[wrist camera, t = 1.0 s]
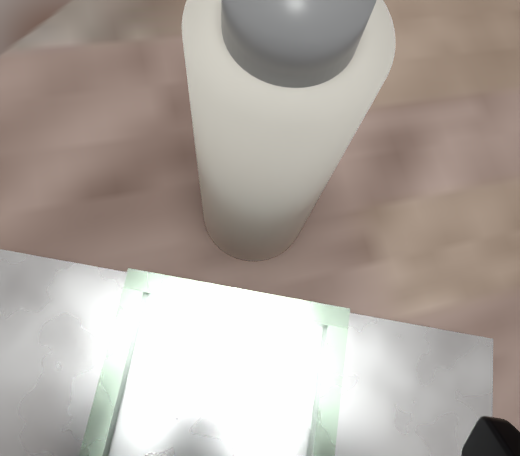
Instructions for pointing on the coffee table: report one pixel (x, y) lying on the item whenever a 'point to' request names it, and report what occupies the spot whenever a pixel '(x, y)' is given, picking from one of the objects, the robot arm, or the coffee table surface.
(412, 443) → the plate
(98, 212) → the coffee table surface
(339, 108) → the cream bottle
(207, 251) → the coffee table surface
